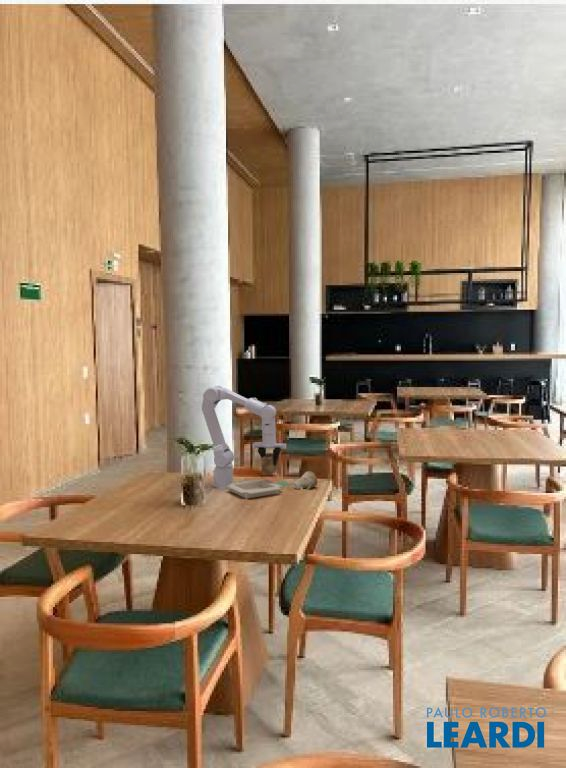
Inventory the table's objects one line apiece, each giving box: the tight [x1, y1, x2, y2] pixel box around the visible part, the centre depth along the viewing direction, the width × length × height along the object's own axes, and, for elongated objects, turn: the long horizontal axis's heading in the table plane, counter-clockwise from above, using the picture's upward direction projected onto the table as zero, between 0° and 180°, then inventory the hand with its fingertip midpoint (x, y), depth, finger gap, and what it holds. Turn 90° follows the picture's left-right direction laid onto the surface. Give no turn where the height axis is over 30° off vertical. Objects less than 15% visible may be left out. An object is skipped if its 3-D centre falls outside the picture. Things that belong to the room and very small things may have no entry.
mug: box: [293, 470, 318, 491], centre depth 257 cm, size 8×10×10 cm
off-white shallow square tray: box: [226, 478, 284, 500], centre depth 251 cm, size 21×19×3 cm
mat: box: [275, 480, 294, 487], centre depth 264 cm, size 8×8×1 cm
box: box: [260, 452, 278, 476], centre depth 258 cm, size 4×8×7 cm, turn 164°
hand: (269, 465), depth 259 cm, fingers closed on box, 4 cm apart
